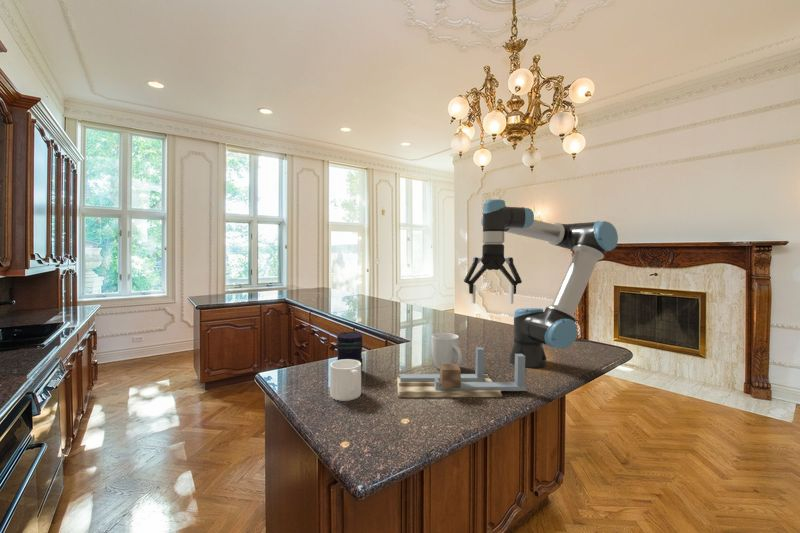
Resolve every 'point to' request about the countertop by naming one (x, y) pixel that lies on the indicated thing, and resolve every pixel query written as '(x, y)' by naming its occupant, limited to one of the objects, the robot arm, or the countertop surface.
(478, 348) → the broken strip
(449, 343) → the mug
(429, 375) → the broken strip
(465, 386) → the strip
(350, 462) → the countertop surface
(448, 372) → the walnut block
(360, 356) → the storage jar
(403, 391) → the lane board
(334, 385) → the mug
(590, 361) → the countertop surface
